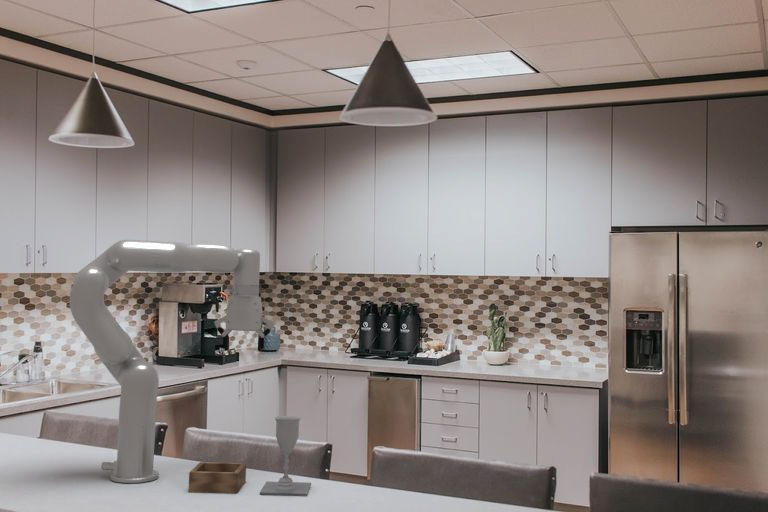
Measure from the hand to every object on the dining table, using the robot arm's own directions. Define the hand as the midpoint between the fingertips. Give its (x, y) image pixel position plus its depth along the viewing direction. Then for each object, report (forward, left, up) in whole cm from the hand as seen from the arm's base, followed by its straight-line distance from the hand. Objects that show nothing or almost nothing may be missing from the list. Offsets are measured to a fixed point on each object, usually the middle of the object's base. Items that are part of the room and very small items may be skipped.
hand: (243, 350), depth 223 cm
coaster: (+16, -20, -34) cm, 43 cm away
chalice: (+16, -20, -34) cm, 42 cm away
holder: (-2, -19, -34) cm, 39 cm away
